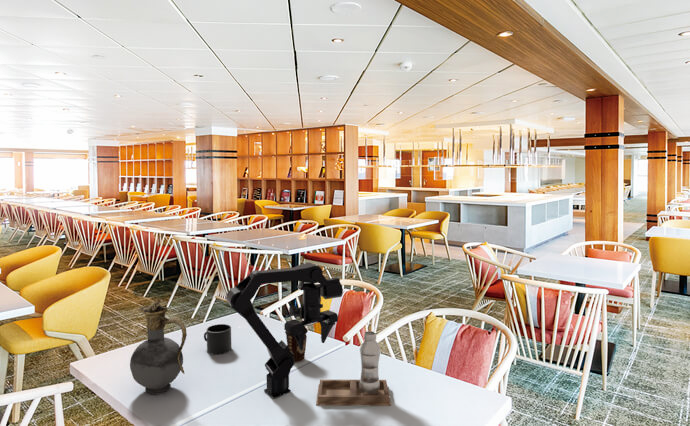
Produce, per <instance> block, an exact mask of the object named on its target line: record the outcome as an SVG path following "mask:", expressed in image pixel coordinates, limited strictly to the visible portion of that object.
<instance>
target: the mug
mask: <svg viewBox="0 0 690 426" xmlns="http://www.w3.org/2000/svg"><path fill="white" fill-rule="evenodd" d="M203 340H204V341H205V342H206V350H207V353H209V354H210V355H223V354H226V353H228V352H230V351H231V350H232V327H231V325H229V324H226V323H225V324H224V323H222V324H221V323H220V324H212V325H210V326H208V327H207V328H206V332H204V334H203Z"/></svg>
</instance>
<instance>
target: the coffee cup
mask: <svg viewBox="0 0 690 426" xmlns="http://www.w3.org/2000/svg"><path fill="white" fill-rule="evenodd" d="M284 331H285V332H284V333H285V335H286V345H287V346H288V348H289V349H290V351H291V352H292V353H293V354H294V356H293V358H294V360H295V362H294V363H301V362H303V361H304V360H305V358H306V357H305V355H306V346H307V333H308V332H309V331H308V328H307V327H306V326H305V327H304V331H303V332H305V337H304V345H303V350H300V349H299V346H298V344H297V341H296V339H295V337H294V335H293V334H292V333H290V332H288V331H286V330H284Z"/></svg>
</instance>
